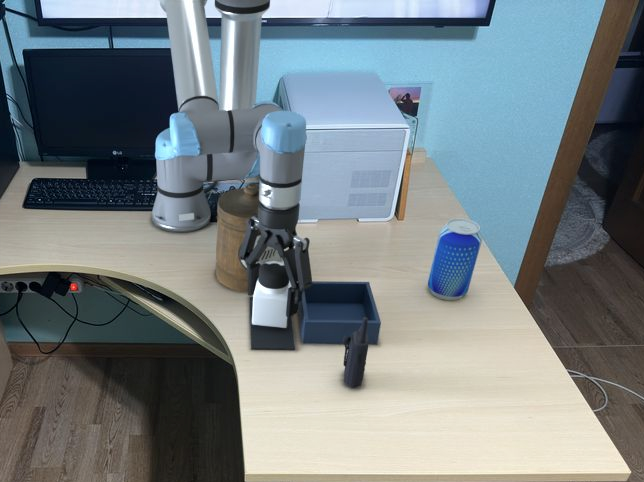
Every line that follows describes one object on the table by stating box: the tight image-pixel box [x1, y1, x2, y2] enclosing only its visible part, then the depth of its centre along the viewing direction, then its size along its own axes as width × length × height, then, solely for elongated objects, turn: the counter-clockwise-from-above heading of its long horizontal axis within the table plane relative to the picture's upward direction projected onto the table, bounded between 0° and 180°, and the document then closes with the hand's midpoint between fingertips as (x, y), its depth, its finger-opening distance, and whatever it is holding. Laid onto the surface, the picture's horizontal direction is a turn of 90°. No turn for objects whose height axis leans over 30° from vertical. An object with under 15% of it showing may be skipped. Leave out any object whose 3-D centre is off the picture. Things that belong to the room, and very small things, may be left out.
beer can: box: [427, 217, 483, 301], centre depth 142 cm, size 8×8×16 cm
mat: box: [249, 296, 296, 351], centre depth 138 cm, size 18×8×1 cm, turn 177°
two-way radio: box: [342, 317, 370, 388], centre depth 119 cm, size 6×4×15 cm
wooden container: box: [215, 183, 283, 293], centre depth 146 cm, size 15×15×22 cm
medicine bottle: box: [252, 261, 291, 328], centre depth 134 cm, size 7×7×12 cm
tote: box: [297, 280, 382, 345], centre depth 137 cm, size 15×15×5 cm
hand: (272, 303), depth 135 cm, fingers closed on medicine bottle, 10 cm apart
